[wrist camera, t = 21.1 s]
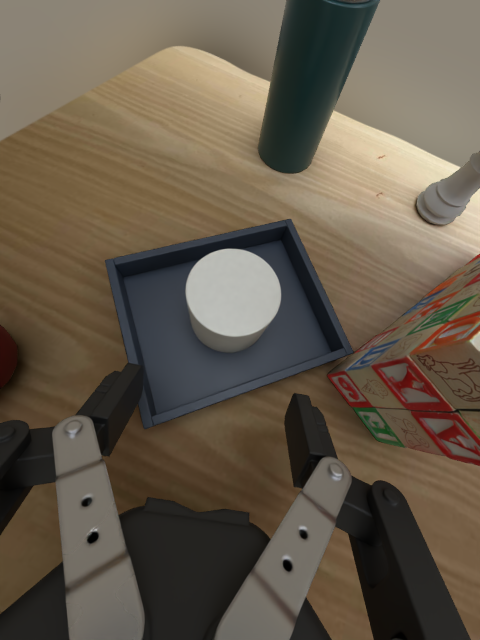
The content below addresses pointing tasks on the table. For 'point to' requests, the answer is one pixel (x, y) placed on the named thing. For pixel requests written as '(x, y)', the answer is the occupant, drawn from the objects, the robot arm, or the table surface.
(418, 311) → the stack of blocks
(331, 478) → the robot arm
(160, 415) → the tray
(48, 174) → the table surface
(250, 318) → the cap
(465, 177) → the rook chess piece
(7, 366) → the cocoa
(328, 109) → the green metal cylinder
